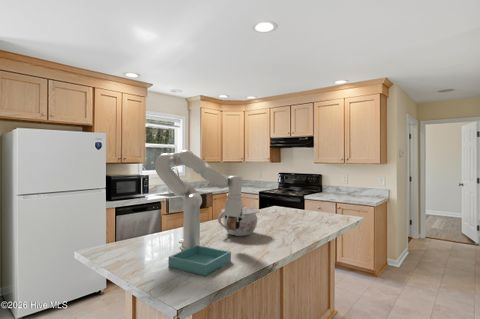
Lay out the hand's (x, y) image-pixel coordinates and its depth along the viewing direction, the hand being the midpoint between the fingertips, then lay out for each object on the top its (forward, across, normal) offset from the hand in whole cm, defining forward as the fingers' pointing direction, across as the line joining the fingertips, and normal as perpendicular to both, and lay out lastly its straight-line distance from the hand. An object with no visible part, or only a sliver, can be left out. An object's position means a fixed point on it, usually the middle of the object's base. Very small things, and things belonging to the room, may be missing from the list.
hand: (233, 227), depth 169 cm
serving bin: (+13, -1, -30) cm, 32 cm away
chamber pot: (+13, -13, +32) cm, 37 cm away
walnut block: (+1, 0, 0) cm, 1 cm away
